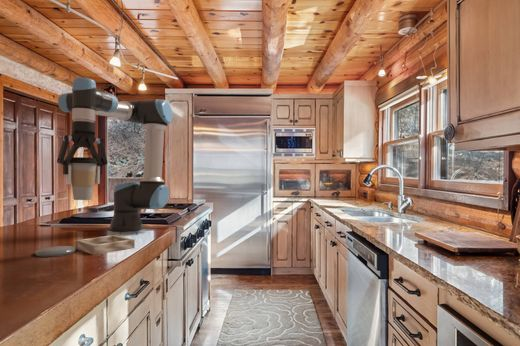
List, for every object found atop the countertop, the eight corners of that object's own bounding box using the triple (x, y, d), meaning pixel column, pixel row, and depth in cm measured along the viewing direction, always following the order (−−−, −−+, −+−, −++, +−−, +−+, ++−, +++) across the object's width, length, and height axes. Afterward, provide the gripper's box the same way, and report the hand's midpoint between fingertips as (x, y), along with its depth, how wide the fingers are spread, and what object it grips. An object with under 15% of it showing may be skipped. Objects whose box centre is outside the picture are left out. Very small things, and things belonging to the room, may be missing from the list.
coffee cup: (70, 198, 128) (71, 158, 128) (98, 198, 131) (99, 158, 131) (65, 200, 119) (66, 156, 119) (96, 200, 122) (96, 157, 122)
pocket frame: (115, 242, 139) (115, 235, 139) (134, 247, 130) (134, 239, 130) (75, 248, 128) (75, 240, 128) (93, 254, 118) (93, 246, 118)
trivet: (67, 247, 129) (67, 244, 129) (81, 252, 121) (81, 249, 121) (30, 253, 120) (30, 249, 120) (42, 258, 112) (42, 255, 112)
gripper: (108, 126, 136) (107, 183, 136) (45, 118, 119) (45, 184, 119) (118, 124, 131) (117, 183, 131) (54, 116, 114) (53, 184, 114)
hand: (83, 183), depth 125 cm, fingers closed on coffee cup, 9 cm apart
